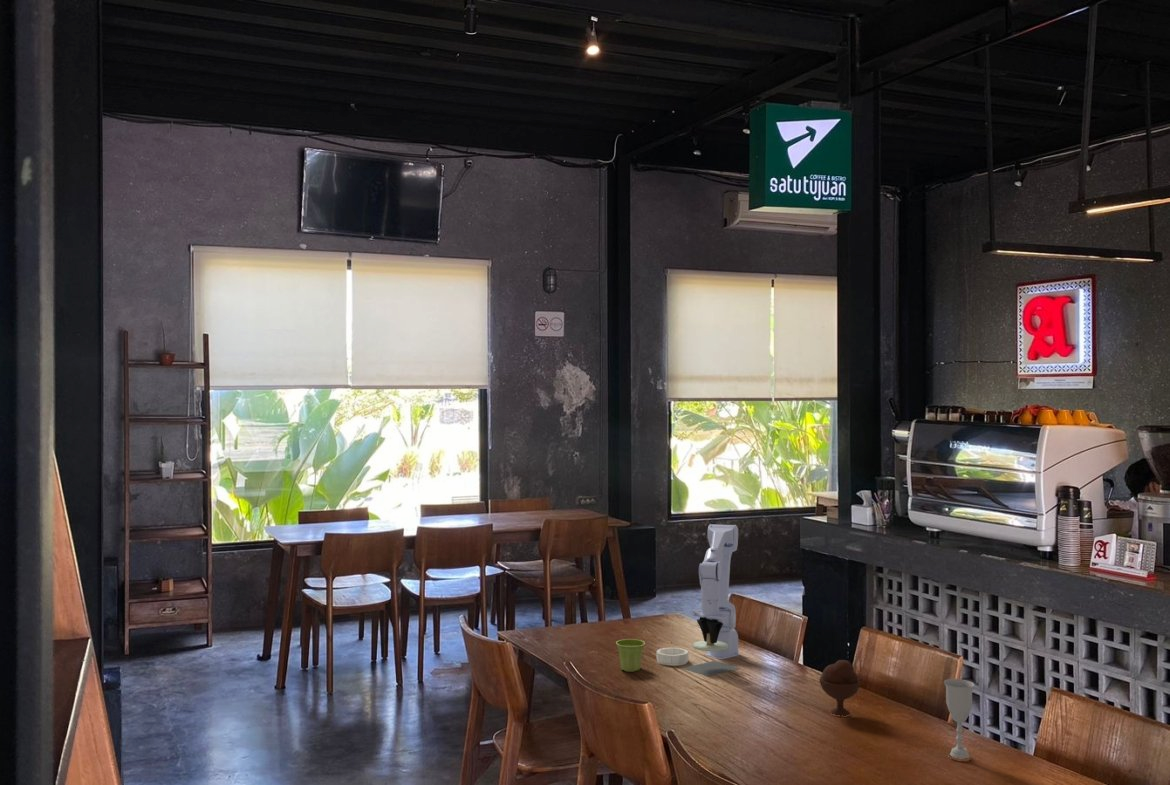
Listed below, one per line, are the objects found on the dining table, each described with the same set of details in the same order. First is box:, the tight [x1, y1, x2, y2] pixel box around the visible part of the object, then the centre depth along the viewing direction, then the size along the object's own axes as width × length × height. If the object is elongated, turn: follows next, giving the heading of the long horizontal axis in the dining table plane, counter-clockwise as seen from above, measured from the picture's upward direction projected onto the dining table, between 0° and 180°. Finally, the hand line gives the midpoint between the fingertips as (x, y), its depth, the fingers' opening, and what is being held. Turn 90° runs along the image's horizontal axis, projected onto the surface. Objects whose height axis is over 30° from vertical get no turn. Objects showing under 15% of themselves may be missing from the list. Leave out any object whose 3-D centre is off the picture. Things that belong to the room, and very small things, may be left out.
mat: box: [682, 660, 740, 677], centre depth 317 cm, size 14×12×1 cm
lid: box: [692, 633, 728, 652], centre depth 317 cm, size 11×11×4 cm
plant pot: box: [615, 638, 646, 673], centre depth 318 cm, size 9×9×9 cm
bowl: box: [655, 647, 689, 667], centre depth 326 cm, size 10×10×4 cm
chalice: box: [943, 678, 975, 759], centre depth 238 cm, size 7×7×18 cm
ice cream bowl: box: [819, 659, 861, 716], centre depth 272 cm, size 11×11×15 cm
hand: (710, 642), depth 317 cm, fingers closed on lid, 2 cm apart
